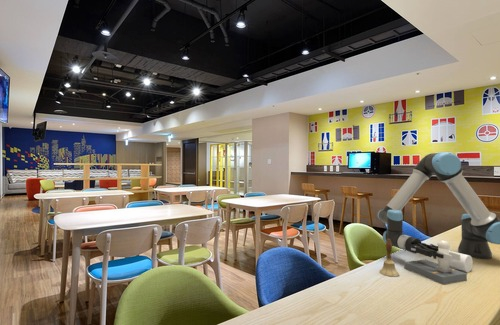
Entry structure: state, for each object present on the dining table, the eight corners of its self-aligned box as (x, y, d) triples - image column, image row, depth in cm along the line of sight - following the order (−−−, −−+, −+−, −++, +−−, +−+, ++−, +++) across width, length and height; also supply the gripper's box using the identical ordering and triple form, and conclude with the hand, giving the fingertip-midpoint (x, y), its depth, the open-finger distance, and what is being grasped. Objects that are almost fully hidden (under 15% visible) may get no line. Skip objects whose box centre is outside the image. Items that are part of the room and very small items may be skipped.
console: (425, 265, 143) (425, 259, 143) (466, 280, 124) (466, 273, 124) (404, 268, 139) (404, 261, 139) (442, 284, 120) (442, 277, 120)
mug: (464, 274, 132) (464, 256, 132) (441, 267, 141) (441, 251, 141) (477, 269, 138) (476, 253, 138) (454, 263, 147) (454, 247, 147)
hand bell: (375, 271, 135) (375, 237, 135) (388, 269, 138) (388, 236, 138) (390, 277, 127) (389, 242, 127) (403, 275, 130) (403, 240, 130)
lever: (443, 268, 130) (442, 238, 130) (453, 271, 126) (452, 241, 126) (434, 269, 128) (434, 239, 129) (444, 273, 124) (444, 242, 124)
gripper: (422, 249, 147) (470, 264, 124) (396, 253, 142) (441, 269, 119) (422, 235, 147) (469, 247, 125) (396, 237, 142) (440, 251, 119)
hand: (455, 258), depth 122 cm, fingers closed on lever, 4 cm apart
